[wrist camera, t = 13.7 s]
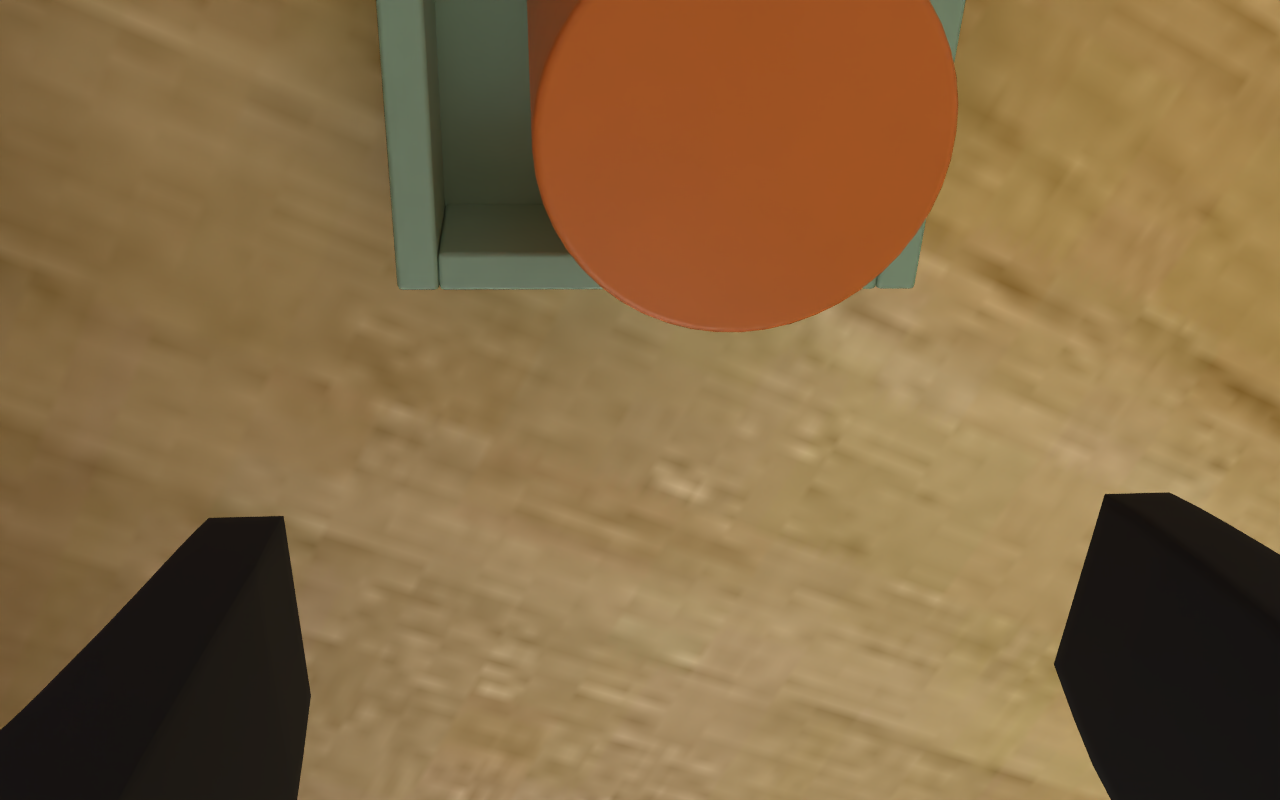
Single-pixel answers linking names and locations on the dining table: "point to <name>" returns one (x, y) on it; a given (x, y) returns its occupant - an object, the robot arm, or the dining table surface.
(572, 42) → the orange cylinder
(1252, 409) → the dining table surface
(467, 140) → the tray
